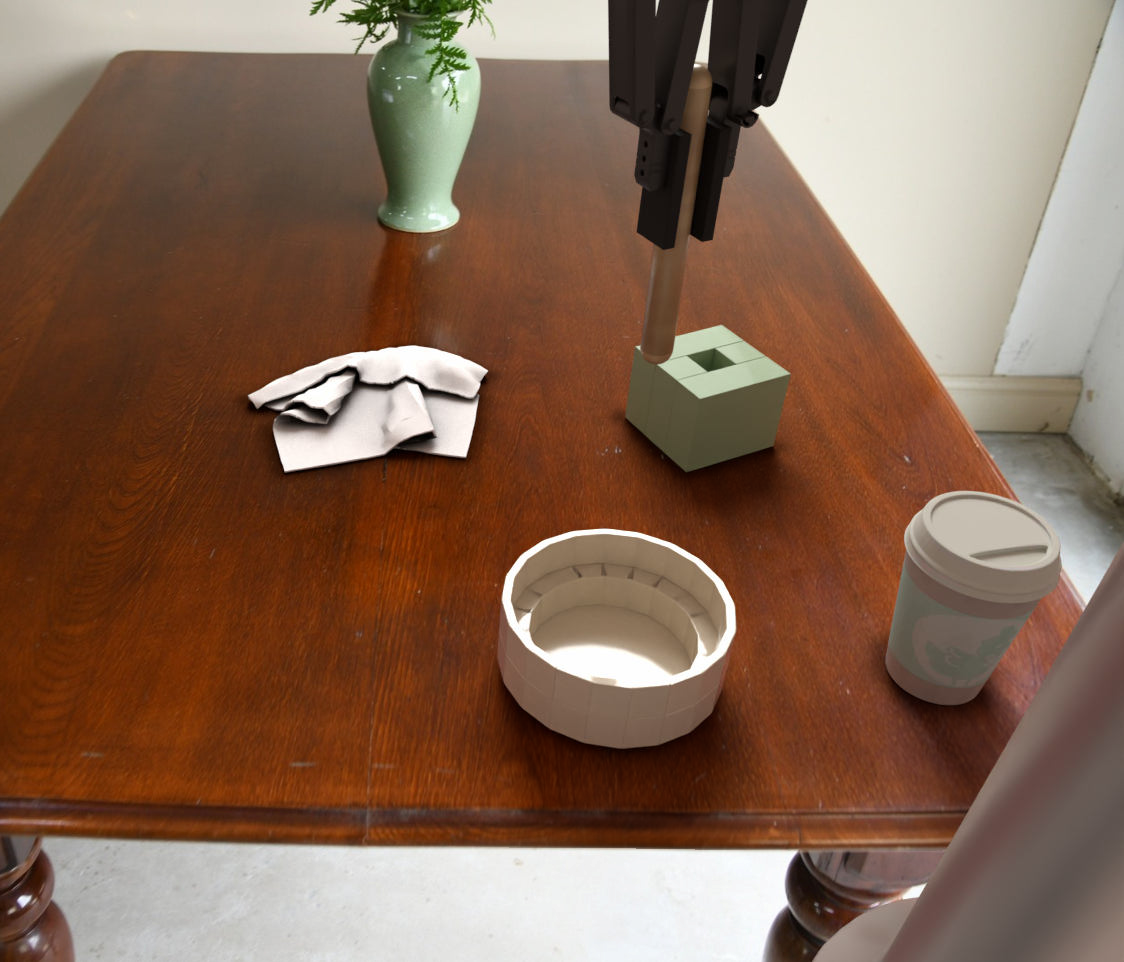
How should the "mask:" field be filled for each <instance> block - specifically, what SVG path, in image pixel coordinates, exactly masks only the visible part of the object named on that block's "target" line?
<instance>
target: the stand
mask: <svg viewBox="0 0 1124 962" xmlns="http://www.w3.org/2000/svg"><path fill="white" fill-rule="evenodd" d="M640 346H641V344H640V345H636V346H634V351H633V358H632V365H631V371H630V379H629V387H628V393H627V400H626V406H625V414H624V418H625V419H626V420H627V421H629V423H631V424H632V425H633V426H634V427H635V428H636V429H637V430H638V431H640V433H642V434H643V435H644V436H645V437H646V438H647V439H648V440H649V441H650V442H651V443H653V444H654V445H655V446H656V447H657V448H658V449H660V451H662V452H663V453H664V454H665V455H666V456H667V457H668V458H670V459H671V460H672V461H673V462H674V463H675V464H676V465H677V466H679V468H681V469H682V470H683V471H684V472H685V473H689V472H692V471H695V470H698V469H702V468H706V467H709V466H713V465H715V464H718V463H722V462H726V461H728V460H729V461H730V460H733V459H736V458H738V457H742V456H746V455H749V454H752V453H755V452H758V451H762V450H765V449H768V448H771V447H774V445H775V442H776V437H777V433H778V429H779V425H780V422H781V416H782V413H783V409H784V405H785V400H786V396H787V392H788V389H789V388H788V387H789V384H790V380H791V375H792V374H791V372H789V371H788V370H787V369H785V368H783V367H782V366H780V365H779V364H778V363H777V362H775V361H774V360H772V359H771V358H769V357H768V356H766V355H765V354H763V353H762V352H761V351H759V350H758V349H756V348H755V347H754V346H752V345H751V344H750V343H748V342H747V341H745V340H744V339H743V338H741V337H739V336H738V335H737V334H735V333H734V332H732V330H730V329H728V328H727V327H726V326H724V325H723V324H719V325H715V326H710V327H708V328H703V329H699V330H695V331H692V332H687V333H683V334H680V335H675V342H674V349H673V353H672V355H671V357H670V358H669V360H667V361H666V362H664V363H662V364H651V363H649V362H647V361H646V360H645V359H644V358H643V357H642V355H641V351H640Z"/></svg>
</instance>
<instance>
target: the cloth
mask: <svg viewBox="0 0 1124 962" xmlns="http://www.w3.org/2000/svg"><path fill="white" fill-rule="evenodd" d="M488 372H489V370H488V369H486V368H484V367H483V366H481V365H480V364H478V363H475V362H473V361H472V360H470V359H467V358H464V357H462V356H460V355H457V354H454V353H451V352H447V351H442V350H440V349H438V348H433V347H425V346H418V345H406V346H398V347H386V348H382V349H379V350H369V351H366V352H365V351H359V352H350V353H348V354H343V355H338V356H335V357H329V358H328V359H326V360H323V361H321V362H319V363H317V364H315V365H309V366H306V367H304V368H301V369H299V370H296V371H295V372H294V373H291V374H288V375H284V376H282V377H279V378H277V379H275V380H273V381H271V382H270V383H268V384H266V385H265V386H264V387H262V388H260V389H258V390H256V391H254V392H252V393H249V394H247V398H248V399H247V400H249V401H251V402H252V403H253V404H254V406H255V408H256V410H259V408H261V407H262V406H263V407H265V408H269V409H270V410H274V411H279V412H280V411H281V412H280V413H279V414H278V415H277V416H276V417H275V418H274V420H273V424H272V432H273V436H274V440H275V441H274V442H275V444H276V448H277V451H278V454H279V458H280V462H281V464H282V467H283V470H284V474H285V473H291V472H292V473H293V472H296V471H303V470H309V469H316V468H322V467H328V466H334V465H338V464H339V465H340V464H346V463H350V462H351V463H352V462H357V461H362V460H368V459H373V458H377V457H382V456H386V455H387V454H388V453H390V451H392V450H393V449H397V450H403V451H413V452H414V451H415V452H421V453H424V454H430V455H437V456H443V457H452V458H460V459H467V455H468V452H469V448H470V444H471V440H472V436H473V431H474V427H475V423H476V418H477V411H478V410H477V409H478V406H479V405H478V404H479V400H480V394H479V393H478V392H479V389H480V387H481V381H482V380H483V378H484V376H486V375H487V373H488ZM297 403H303V404H301V405H299V406H298V407H296V408H293V409H289V408H291V407H292V406H294V405H296V404H297ZM287 409H289V410H287Z"/></svg>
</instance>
